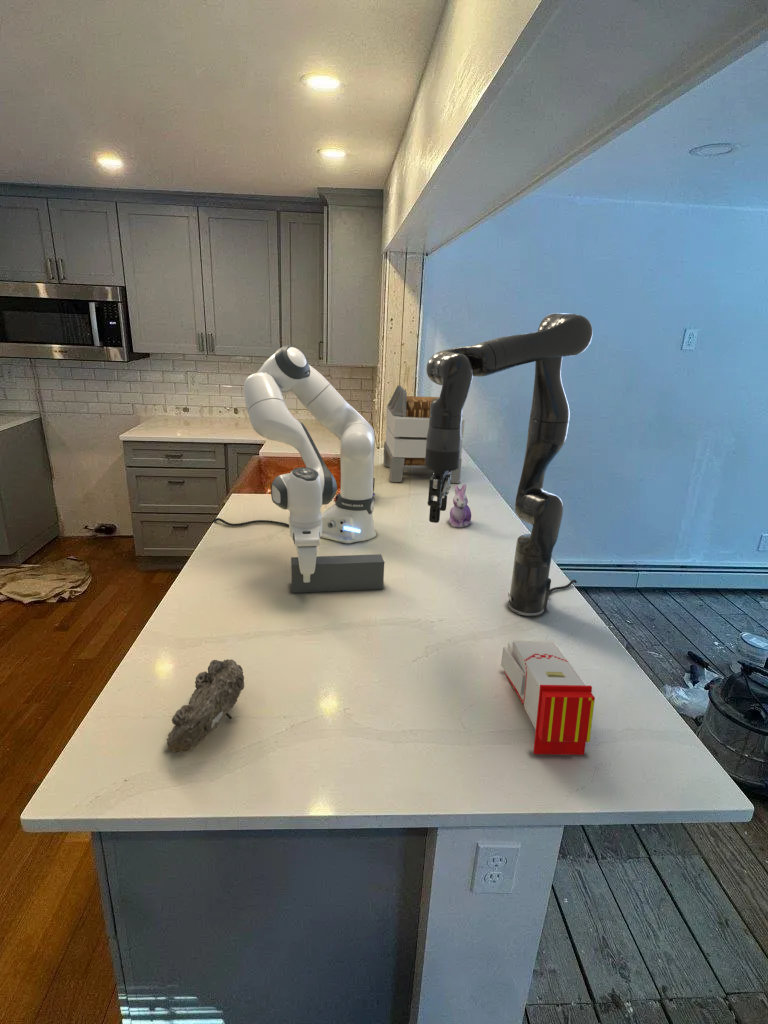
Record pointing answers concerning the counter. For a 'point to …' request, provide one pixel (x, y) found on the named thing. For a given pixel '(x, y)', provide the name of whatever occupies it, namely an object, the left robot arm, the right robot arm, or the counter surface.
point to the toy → (550, 696)
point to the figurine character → (373, 486)
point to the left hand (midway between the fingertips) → (305, 574)
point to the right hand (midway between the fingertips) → (437, 515)
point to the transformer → (409, 434)
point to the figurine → (460, 508)
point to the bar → (340, 574)
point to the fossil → (206, 705)
